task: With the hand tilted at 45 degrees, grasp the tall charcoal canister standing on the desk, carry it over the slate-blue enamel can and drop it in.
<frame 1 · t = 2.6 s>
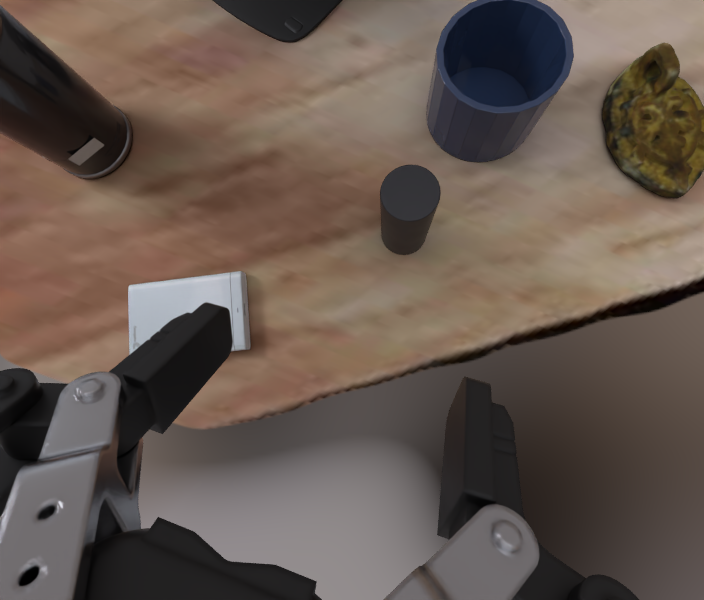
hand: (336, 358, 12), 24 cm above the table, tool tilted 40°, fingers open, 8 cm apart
hard drive: (193, 317, 38), on the table
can: (479, 113, 38), on the table
bronze pendant: (649, 133, 36), on the table
canister: (403, 233, 37), on the table
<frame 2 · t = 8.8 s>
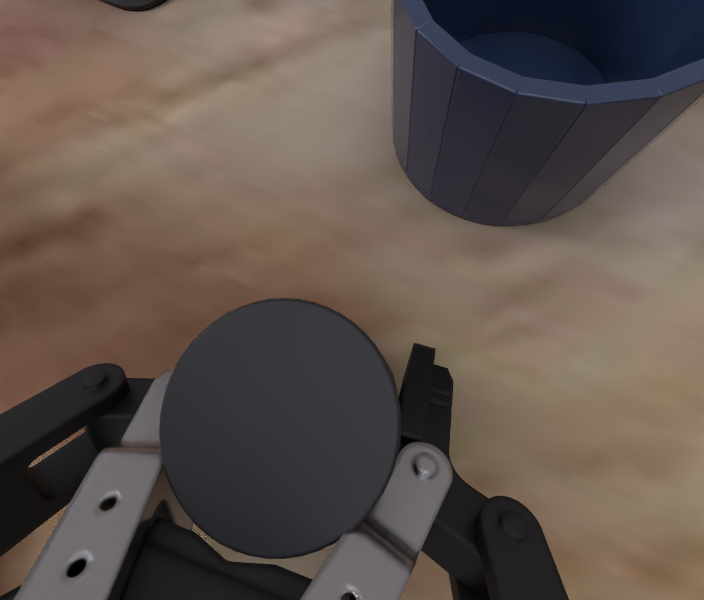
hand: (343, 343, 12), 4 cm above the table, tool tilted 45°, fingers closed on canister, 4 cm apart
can: (503, 123, 18), on the table
canister: (345, 390, 16), on the table, touching gripper
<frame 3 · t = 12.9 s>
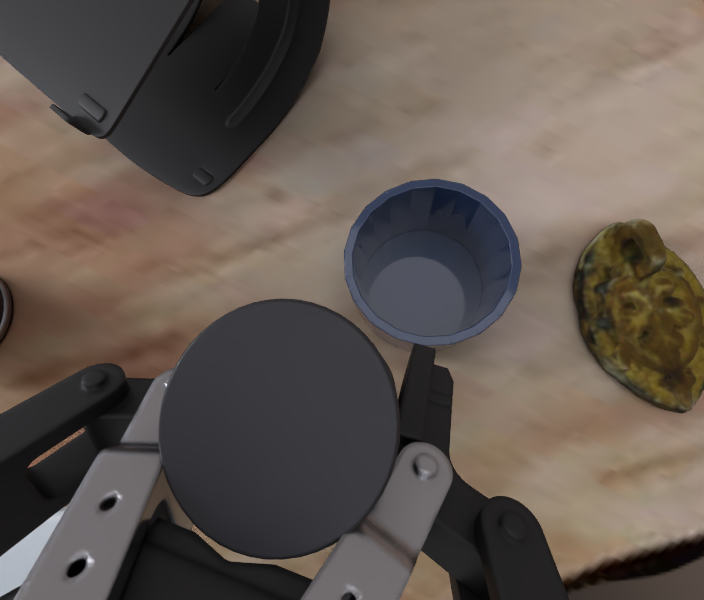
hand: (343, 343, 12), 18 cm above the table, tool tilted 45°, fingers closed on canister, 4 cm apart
hard drive: (65, 557, 30), on the table
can: (420, 287, 31), on the table
laptop stand: (194, 75, 38), on the table
bronze pendant: (635, 315, 28), on the table
canister: (345, 391, 16), point 14 cm above the table, touching gripper
when the fingers open (10 cm above the table, at t = 17.3 s): canister drops 5 cm, resting on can.
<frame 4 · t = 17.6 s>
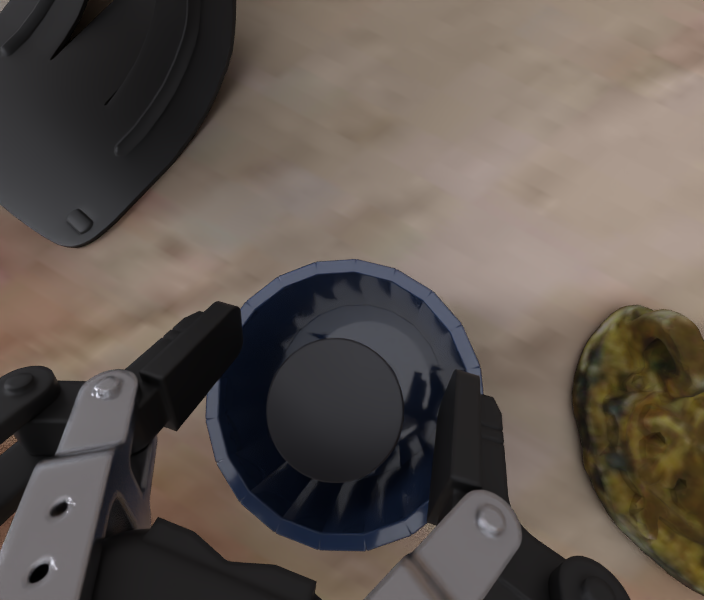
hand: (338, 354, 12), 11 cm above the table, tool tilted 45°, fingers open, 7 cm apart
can: (358, 386, 22), on the table
laptop stand: (83, 85, 30), on the table
bronze pendant: (662, 439, 20), on the table
canister: (360, 389, 21), point 1 cm above the table, touching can
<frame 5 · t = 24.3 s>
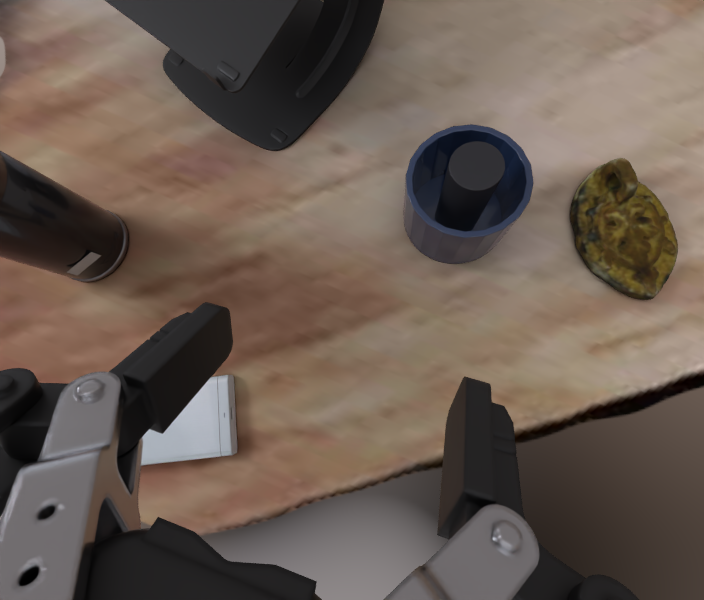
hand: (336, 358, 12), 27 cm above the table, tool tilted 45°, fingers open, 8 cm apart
hard drive: (183, 419, 39), on the table
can: (453, 216, 40), on the table
laptop stand: (267, 56, 48), on the table
bronze pendant: (616, 234, 38), on the table
canister: (456, 216, 39), resting on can
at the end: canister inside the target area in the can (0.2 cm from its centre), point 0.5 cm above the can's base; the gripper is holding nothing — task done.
